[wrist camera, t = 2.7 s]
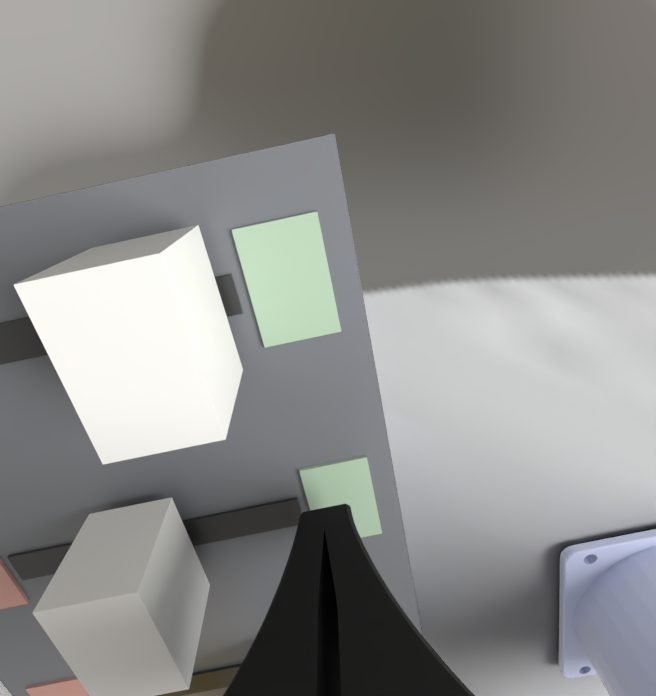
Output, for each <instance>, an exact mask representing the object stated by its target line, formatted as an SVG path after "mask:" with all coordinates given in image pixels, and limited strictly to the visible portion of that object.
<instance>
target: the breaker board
mask: <svg viewBox="0 0 656 696" xmlns="http://www.w3.org/2000/svg"><path fill="white" fill-rule="evenodd" d="M196 225H199V229H200V232H201V235H202V238H203V241H204V245H205V248H206V251H207V254H208V258H209V261H210V264H211V267H212V271H213V274H214V277H215V280H216V284H217V287H218V290H219V293H220V297H221V300H222V303H223V306H224V309H225V313H226V316H227V319H228V322H229V326H230V329H231V332H232V335H233V339H234V342H235V345H236V348H237V352H238V355H239V358H240V361H241V365H242V368H243V372H242V376H241V380H240V384H239V388H238V392H237V396H236V400H235V404H234V408H233V412H232V416H231V420H230V424H229V428H228V432H227V436H226V440H221V441H216V442H211V443H206V444H201V445H196V446H192V447H187V448H182V449H177V450H172V451H167V452H162V453H157V454H152V455H148V456H143V457H138V458H133V459H128V460H123V461H118V462H113V463H109V464H104V465H103V464H102V462H101V460H100V458H99V456H98V454H97V452H96V450H95V448H94V446H93V444H92V442H91V440H90V438H89V436H88V434H87V432H86V430H85V428H84V426H83V424H82V422H81V420H80V418H79V416H78V414H77V412H76V410H75V408H74V406H73V404H72V402H71V400H70V398H69V396H68V394H67V392H66V390H65V388H64V386H63V384H62V382H61V380H60V378H59V376H58V374H57V372H56V370H55V368H54V366H53V364H52V361H51V359H50V357H49V355H48V353H47V351H46V349H45V347H44V345H43V343H42V341H41V339H40V337H39V335H38V333H37V331H36V329H35V327H34V325H33V323H32V321H31V319H30V317H29V315H28V313H27V311H26V309H25V307H24V305H23V303H22V301H21V299H20V297H19V295H18V293H17V291H16V289H15V287H14V284H16V283H18V282H20V281H22V280H24V279H26V278H29V277H31V276H33V275H35V274H37V273H39V272H41V271H44V270H46V269H48V268H50V267H52V266H54V265H56V264H58V263H61V262H63V261H65V260H67V259H69V258H71V257H73V256H76V255H78V254H80V253H82V252H84V251H86V250H88V249H91V248H94V247H98V246H103V245H108V244H112V243H117V242H121V241H126V240H131V239H135V238H140V237H145V236H149V235H154V234H158V233H163V232H168V231H172V230H177V229H182V228H186V227H191V226H196ZM171 497H172V499H173V501H174V504H175V506H176V508H177V510H178V513H179V515H180V517H181V520H182V522H183V524H184V526H185V529H186V531H187V533H188V536H189V538H190V540H191V542H192V545H193V547H194V549H195V552H196V554H197V556H198V558H199V561H200V563H201V565H202V568H203V570H204V572H205V574H206V577H207V579H208V581H209V584H210V588H209V593H208V598H207V603H206V608H205V613H204V618H203V623H202V628H201V633H200V638H199V643H198V648H197V653H196V658H195V663H194V668H193V673H192V678H191V683H190V688H189V689H188V690H182V691H177V692H172V693H167V694H162V695H156V696H223V695H224V693H225V691H226V690H227V688H228V686H229V685H230V683H231V681H232V680H233V678H234V676H235V675H236V673H237V671H238V669H239V667H240V666H241V664H242V662H243V660H244V658H245V657H246V655H247V653H248V651H249V649H250V647H251V645H252V643H253V641H254V639H255V638H256V636H257V634H258V632H259V629H260V627H261V625H262V623H263V621H264V619H265V617H266V614H267V612H268V610H269V607H270V605H271V603H272V600H273V598H274V595H275V593H276V591H277V588H278V586H279V583H280V581H281V578H282V575H283V572H284V569H285V566H286V564H287V561H288V558H289V555H290V552H291V548H292V545H293V542H294V538H295V535H296V531H297V527H298V523H299V517H300V515H301V514H302V513H303V512H306V511H311V510H316V509H321V508H326V507H331V506H336V505H341V504H347V505H349V506H350V507H351V511H352V516H353V520H354V523H355V526H356V528H357V531H358V533H359V535H360V538H361V540H362V542H363V544H364V546H365V548H366V550H367V552H368V554H369V556H370V558H371V560H372V561H373V563H374V565H375V567H376V569H377V570H378V572H379V574H380V576H381V577H382V579H383V580H384V582H385V584H386V585H387V587H388V588H389V590H390V592H391V593H392V595H393V596H394V598H395V599H396V601H397V602H398V604H399V605H400V607H401V608H402V609H403V611H404V612H405V614H406V615H407V616H408V618H409V619H410V620H411V622H412V623H413V624H414V626H415V627H416V628H417V630H418V631H419V632H420V634H421V635H422V630H421V625H420V619H419V613H418V607H417V602H416V596H415V590H414V585H413V579H412V573H411V568H410V562H409V556H408V550H407V545H406V539H405V533H404V528H403V522H402V516H401V510H400V505H399V499H398V493H397V488H396V482H395V476H394V470H393V465H392V459H391V453H390V448H389V442H388V436H387V430H386V425H385V419H384V413H383V408H382V402H381V396H380V390H379V385H378V379H377V373H376V368H375V362H374V356H373V350H372V345H371V339H370V333H369V328H368V322H367V316H366V310H365V305H364V299H363V293H362V288H361V282H360V277H359V271H358V265H357V259H356V253H355V248H354V242H353V237H352V231H351V225H350V219H349V214H348V208H347V202H346V196H345V191H344V186H343V179H342V173H341V168H340V163H339V156H338V151H337V145H336V139H335V134H330V135H326V136H321V137H317V138H312V139H307V140H303V141H298V142H294V143H289V144H284V145H280V146H275V147H271V148H266V149H261V150H257V151H252V152H248V153H243V154H239V155H234V156H229V157H225V158H221V159H216V160H211V161H207V162H202V163H198V164H193V165H188V166H184V167H179V168H175V169H170V170H166V171H161V172H156V173H152V174H147V175H143V176H138V177H134V178H129V179H124V180H120V181H115V182H111V183H107V184H102V185H97V186H92V187H88V188H83V189H79V190H74V191H70V192H65V193H61V194H56V195H52V196H47V197H43V198H38V199H33V200H29V201H25V202H19V203H15V204H10V205H6V206H1V207H0V681H1V682H2V683H3V684H4V685H5V687H6V688H7V689H8V690H9V692H10V693H11V694H12V695H13V696H89V694H88V693H87V691H86V690H85V689H84V687H83V686H82V684H81V683H80V681H79V680H78V678H77V677H76V675H75V674H74V673H73V671H72V670H71V668H70V667H69V665H68V664H67V662H66V661H65V660H64V658H63V657H62V655H61V654H60V652H59V651H58V649H57V648H56V647H55V645H54V644H53V642H52V641H51V639H50V638H49V636H48V635H47V633H46V632H45V631H44V629H43V628H42V626H41V625H40V623H39V622H38V620H37V619H36V618H35V616H34V615H33V611H34V609H35V608H36V606H37V604H38V602H39V601H40V599H41V597H42V595H43V594H44V592H45V590H46V588H47V587H48V585H49V583H50V581H51V580H52V578H53V576H54V574H55V573H56V571H57V569H58V567H59V566H60V564H61V562H62V561H63V559H64V557H65V555H66V554H67V552H68V550H69V548H70V547H71V545H72V543H73V541H74V540H75V538H76V536H77V534H78V533H79V531H80V529H81V527H82V526H83V524H84V522H85V520H86V519H87V517H88V515H89V514H92V513H97V512H102V511H107V510H111V509H116V508H121V507H126V506H131V505H136V504H141V503H146V502H151V501H156V500H161V499H166V498H171Z"/></svg>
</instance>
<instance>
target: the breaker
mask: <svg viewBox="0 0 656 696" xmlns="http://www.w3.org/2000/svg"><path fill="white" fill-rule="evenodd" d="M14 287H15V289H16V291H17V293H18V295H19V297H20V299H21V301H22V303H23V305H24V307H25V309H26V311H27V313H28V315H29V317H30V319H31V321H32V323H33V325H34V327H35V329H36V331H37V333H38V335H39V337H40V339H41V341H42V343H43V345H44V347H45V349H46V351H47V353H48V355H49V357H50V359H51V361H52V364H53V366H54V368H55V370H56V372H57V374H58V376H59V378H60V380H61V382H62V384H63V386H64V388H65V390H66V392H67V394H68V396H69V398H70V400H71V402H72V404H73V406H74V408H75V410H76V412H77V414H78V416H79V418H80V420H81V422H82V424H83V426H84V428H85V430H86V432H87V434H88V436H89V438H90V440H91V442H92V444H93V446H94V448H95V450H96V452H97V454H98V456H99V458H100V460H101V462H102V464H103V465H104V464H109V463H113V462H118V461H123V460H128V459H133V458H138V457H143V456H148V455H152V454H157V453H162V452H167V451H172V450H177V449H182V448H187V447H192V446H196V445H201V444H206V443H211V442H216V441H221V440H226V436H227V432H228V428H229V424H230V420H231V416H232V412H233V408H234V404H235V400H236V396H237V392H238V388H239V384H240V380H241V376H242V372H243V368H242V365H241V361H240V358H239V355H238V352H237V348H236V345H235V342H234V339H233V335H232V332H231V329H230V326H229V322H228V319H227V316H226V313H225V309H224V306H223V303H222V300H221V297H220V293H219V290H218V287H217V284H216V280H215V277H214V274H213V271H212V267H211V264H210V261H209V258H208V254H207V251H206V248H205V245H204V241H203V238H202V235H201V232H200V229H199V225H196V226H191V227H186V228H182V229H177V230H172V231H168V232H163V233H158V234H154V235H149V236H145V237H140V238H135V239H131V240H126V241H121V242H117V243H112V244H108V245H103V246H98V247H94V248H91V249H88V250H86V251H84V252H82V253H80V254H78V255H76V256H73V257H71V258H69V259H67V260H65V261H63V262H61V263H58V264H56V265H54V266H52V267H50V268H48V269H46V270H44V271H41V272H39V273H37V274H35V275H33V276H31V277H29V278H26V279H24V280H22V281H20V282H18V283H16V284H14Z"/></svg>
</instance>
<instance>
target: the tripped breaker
mask: <svg viewBox="0 0 656 696" xmlns="http://www.w3.org/2000/svg"><path fill="white" fill-rule="evenodd" d="M209 588H210V584H209V581H208V579H207V577H206V574H205V572H204V570H203V568H202V565H201V563H200V561H199V558H198V556H197V554H196V552H195V549H194V547H193V545H192V542H191V540H190V538H189V536H188V533H187V531H186V529H185V526H184V524H183V522H182V520H181V517H180V515H179V513H178V510H177V508H176V506H175V504H174V501H173V499H172V497H171V498H166V499H161V500H156V501H151V502H146V503H141V504H136V505H131V506H126V507H121V508H116V509H111V510H107V511H102V512H97V513H92V514H89V515H88V517H87V519H86V520H85V522H84V524H83V526H82V527H81V529H80V531H79V533H78V534H77V536H76V538H75V540H74V541H73V543H72V545H71V547H70V548H69V550H68V552H67V554H66V555H65V557H64V559H63V561H62V562H61V564H60V566H59V567H58V569H57V571H56V573H55V574H54V576H53V578H52V580H51V581H50V583H49V585H48V587H47V588H46V590H45V592H44V594H43V595H42V597H41V599H40V601H39V602H38V604H37V606H36V608H35V609H34V611H33V615H34V616H35V618H36V619H37V620H38V622H39V623H40V625H41V626H42V628H43V629H44V631H45V632H46V633H47V635H48V636H49V638H50V639H51V641H52V642H53V644H54V645H55V647H56V648H57V649H58V651H59V652H60V654H61V655H62V657H63V658H64V660H65V661H66V662H67V664H68V665H69V667H70V668H71V670H72V671H73V673H74V674H75V675H76V677H77V678H78V680H79V681H80V683H81V684H82V686H83V687H84V689H85V690H86V691H87V693H88V694H89V696H156V695H162V694H167V693H172V692H177V691H182V690H188V689H189V688H190V683H191V678H192V673H193V668H194V663H195V658H196V653H197V648H198V643H199V638H200V633H201V628H202V623H203V618H204V613H205V608H206V603H207V598H208V593H209Z"/></svg>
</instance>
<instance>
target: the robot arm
mask: <svg viewBox="0 0 656 696" xmlns="http://www.w3.org/2000/svg"><path fill="white" fill-rule="evenodd" d="M559 669H560V671H561V673H562V675H563V676H564V677H566V678H578V677H583V676H588V675H593V674H598V676H599V677H600V679H601V681H602V683H603V684H604V686H605V688H606V690H607V691H608V693H609V695H610V696H656V529H652V530H647V531H642V532H637V533H632V534H627V535H622V536H617V537H612V538H606V539H601V540H596V541H591V542H586V543H581V544H576V545H571V546H568V547H567V548H565V549H564V550H563V551H562V552H561V555H560V595H559ZM223 696H475V695H474V694H473V693H472V692H471V691H470V690H469V689H468V688H467V687H466V686H465V685H464V684H463V683H462V682H461V680H460V679H459V678H458V677H457V676H456V675H455V674H454V673H453V672H452V671H451V670H450V668H449V667H448V666H447V665H446V664H445V663H444V661H443V660H442V659H441V658H440V657H439V655H438V654H437V653H436V652H435V651H434V649H433V648H432V647H431V646H430V645H429V644H428V642H427V641H426V640H425V639H424V638H423V636H422V635H421V634H420V632H419V631H418V630H417V628H416V627H415V626H414V624H413V623H412V622H411V620H410V619H409V618H408V616H407V615H406V614H405V612H404V611H403V609H402V608H401V607H400V605H399V604H398V602H397V601H396V599H395V598H394V596H393V595H392V593H391V592H390V590H389V588H388V587H387V585H386V584H385V582H384V580H383V579H382V577H381V576H380V574H379V572H378V570H377V569H376V567H375V565H374V563H373V561H372V560H371V558H370V556H369V554H368V552H367V550H366V548H365V546H364V544H363V542H362V540H361V538H360V535H359V533H358V531H357V528H356V526H355V523H354V520H353V516H352V511H351V507H350V506H349V505H347V504H341V505H336V506H331V507H326V508H321V509H316V510H311V511H306V512H303V513H302V514H301V515H300V517H299V523H298V527H297V531H296V535H295V538H294V542H293V545H292V548H291V552H290V555H289V558H288V561H287V564H286V566H285V569H284V572H283V575H282V578H281V581H280V583H279V586H278V588H277V591H276V593H275V595H274V598H273V600H272V603H271V605H270V607H269V610H268V612H267V614H266V617H265V619H264V621H263V623H262V625H261V627H260V629H259V632H258V634H257V636H256V638H255V639H254V641H253V643H252V645H251V647H250V649H249V651H248V653H247V655H246V657H245V658H244V660H243V662H242V664H241V666H240V667H239V669H238V671H237V673H236V675H235V676H234V678H233V680H232V681H231V683H230V685H229V686H228V688H227V690H226V691H225V693H224V695H223Z"/></svg>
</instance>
